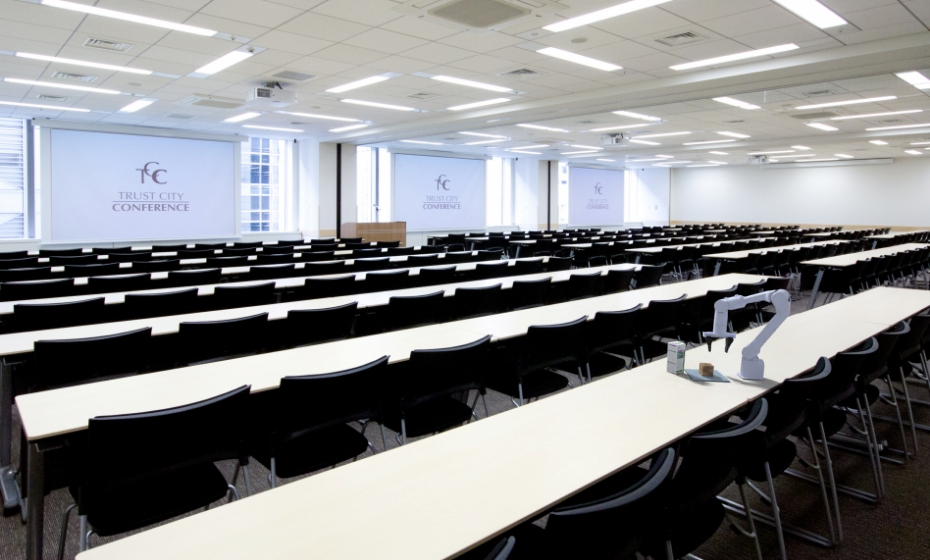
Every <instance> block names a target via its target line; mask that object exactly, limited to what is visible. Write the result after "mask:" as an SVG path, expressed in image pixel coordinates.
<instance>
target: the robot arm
mask: <svg viewBox="0 0 930 560" xmlns="http://www.w3.org/2000/svg"><path fill="white" fill-rule="evenodd" d="M791 297H792V296H791V294H790V292H789V291H787V290H786V289H783V288H779V289H773V290H766V291H762V292H759V293H754V294H751V295H748V296H743V295H740V294H735V295H734V296H731V297H727V296H726V297H724V298H722V299H718V300H717V301H715V302H714V319H713V329H712V331H702V336H703V338H704V339H705V342H706V346H707V351H708V353H712V344H713V338H724V341H725V342H724V343H725V344H724V345H725V346H724V352H725V353H726V354H727V353H729V349H730V347H731V346H732V344H733V343H734V340H735V339H736V338H737V334H736V333H731V332H730V333H729V332H727V326H728V318H729V317H728V312H729V311H728V310H730V311H732V310H737V309H742V308H745V307H746V305H747V304H750V303H755V302H762V301H765V302H768V303H772V304H773V306H774V308H775V312H776V314H774V315H773V317H771V319H770V320H769V321H768V323H767V324H766V325H765V326H764V327H763V328H762V330H760V332H759V333H758V334H757V335H756V336H755V338H754V339H753V340H752V341H751V342H749V343H748V344H746V345H745V347H743V348H742V350H741V360H740V361H741V362H740V371H739V372H736V375H738V376H739V377H740V378H741V379H743V380H762V381H763V380H765V379H764V376H765V375H764V374H765V362H764V360H763V358H762V359H761V358H759V356H758V355H759V354H760V353H761V350H762V347H763V346H764V345H765V344H766V343H767V341H768V340H769V339H770V338H771V337H772V335H773V334H775V332H776V331H777V330H778V329H779V328H780V326H781V325H782V324H783V323H785V321H786V320H787V318H788V317H789V316H790V314H791V304H792V298H791Z"/></svg>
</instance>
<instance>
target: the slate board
mask: <svg viewBox="0 0 930 560" xmlns="http://www.w3.org/2000/svg"><path fill="white" fill-rule="evenodd" d="M684 371H685V372H686V373H687V374H686V373H685V372H684V373H685V374H686V375H688V376H689V378H691V380H692V381H694V382H695V381H696V382H716V383H717V382H719V383H721V382H722V383H730V382H731V381H730V379H728V378H727V377H726V376H725V375H723V374H722V373H721V372H720V371H719V370H717V369H714V373H713V377H708V376H701V375H700V374H699V368H698V369H696V368H684Z"/></svg>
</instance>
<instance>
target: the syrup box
mask: <svg viewBox="0 0 930 560" xmlns="http://www.w3.org/2000/svg"><path fill="white" fill-rule="evenodd" d="M686 349H687V347H686V343H685V342H682V341H679V340H677V341H670V342H669V341H668V343H667V355H666V356H667V357H666V372H667V373H670V372H671V373H670V374H673V373H674V374H673V375H679V373H680V374H684V373H685V372H684V369H685V361H686Z"/></svg>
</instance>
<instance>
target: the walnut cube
mask: <svg viewBox="0 0 930 560" xmlns="http://www.w3.org/2000/svg"><path fill="white" fill-rule="evenodd" d="M698 364H699V365H698V369H699V374H700V375H701V376H708V377H713V373H714V370H715V366H714V365H713V364H712V363H711V362H699V363H698Z"/></svg>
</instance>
